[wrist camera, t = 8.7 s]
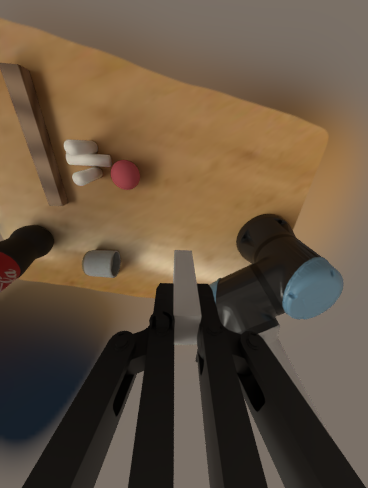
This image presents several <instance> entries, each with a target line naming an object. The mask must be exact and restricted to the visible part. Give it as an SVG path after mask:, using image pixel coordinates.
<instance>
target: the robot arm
mask: <svg viewBox="0 0 368 488" xmlns="http://www.w3.org/2000/svg"><path fill="white" fill-rule="evenodd" d="M236 243H237V248H238V250H239V252H240V254H241V255H242V257H243V258H244V259H246V260H247V261H249V262H250V263H252V264H251V265H249V266H247V267H245V268H243V269H241V270H238V271H236V272H234V273H232V274H230V275H228V276H226V277H223V278H219V279H218V280H217V281H215V282H213V283H211V284H210V285H208V284H197V282H196V276H195V269H194V263H193V256H192V251H187V250H175V252H174V272H173V283H160V284H159V286H158V287H157V289H156V297H155V304H154V312H153V314H152V315H151V317H150V320H149V322H150V325H149V326H148V328H146V329H145V330H143V331H141V332H137V333H134V334H132V333H131V332H129V331H121V332H118V333H117V334H115V335H114V336H112V338H111V339H110V340H109V342H108V343H107V345H106V347H105V348H104V350H103V352H102V353H101V355H100V357H99V358H98V360H97V362H96V363H95V365H94V367H93V369H92V370H91V372H90V374H89V376H88V377H87V379H86V380H85V382H84V384H83V385H82V387H81V389H80V390H79V392H78V394H77V396H76V397H75V399H74V401H73V402H72V404H71V406H70V407H69V409H68V411H67V412H66V414H65V416H64V418H63V419H62V421H61V423H60V424H59V426H58V428H57V429H56V431H55V433H54V434H53V436H52V438H51V439H50V441H49V443H48V444H47V446H46V448H45V450H44V451H43V453H42V455H41V457H40V458H39V460H38V462H37V463H36V465H35V467H34V468H33V470H32V471H31V473H30V475H29V477H28V478H27V480H26V482H25V483H24V485H23V487H22V488H94V485H95V483H96V480H97V477H98V475H99V472H100V470H101V467H102V464H103V462H104V459H105V456H106V454H107V451H108V448H109V446H110V443H111V440H112V438H113V435H114V433H115V430H116V428H117V425H118V422H119V419H120V417H121V414H122V412H123V409H124V407H125V404H126V401H127V399H128V396H129V393H130V391H131V388H132V385H133V383H134V380H135V378H136V375H137V373H139V372H142V371H144V376H143V383H142V391H141V398H140V405H139V412H138V419H137V427H136V433H135V441H134V449H133V455H132V463H131V470H130V477H129V484H128V488H173V475H174V458H173V457H174V345H196V343H197V346H198V350H197V355H196V362H198V369H199V381H200V391H201V400H202V410H203V421H204V431H205V441H206V452H207V462H208V472H209V482H210V488H268V487H267V483H266V479H265V475H264V472H263V468H262V464H261V461H260V457H259V453H258V450H257V446H256V442H255V438H254V434H253V431H252V427H251V423H250V419H249V416H248V412H247V408H246V404H245V401H246V403H247V405H248V407H249V409H250V412H251V414H252V416H253V418H254V420H255V423H256V425H257V427H258V429H259V431H260V434H261V435H262V438H263V440H264V442H265V445H266V447H267V449H268V451H269V453H270V456H271V458H272V460H273V462H274V464H275V467H276V469H277V471H278V473H279V475H280V478H281V480H282V482H283V484H284V486H285V488H366V487H365V486H364V484H363V483H362V481H361V480H360V478H359V477H358V475H357V474H356V473H355V471H354V470H353V468H352V467H351V465H350V464H349V462H348V461H347V460H346V458H345V457H344V455H343V454H342V452H341V451H340V449H339V448H338V447H337V445H336V444H335V442H334V441H333V439H332V437H331V435H330V434H329V432H328V430H327V428H326V426H325V424H324V422H323V421H322V419H321V417H320V415H319V413H318V411H317V410H316V408H315V406H314V404H313V402H312V400H311V398H310V397H309V395H308V393H307V391H306V389H305V387H304V385H303V384H302V382H301V380H300V378H299V377H298V374H297V373H296V371H295V369H294V367H293V365H292V363H291V361H290V360H289V358H288V356H287V354H286V352H285V350H284V348H283V347H282V345H281V343H280V341H279V339H278V332H279V329H280V325H279V323H278V321H277V320H276V318H275V316H277V315H280V314H283V313H286V314H288V315H289V316H291V317H292V318H295V319H309V318H312V317H315V316H317V315H320V314H321V313H323V312H324V311H326V310H327V309H328V308H330V307H331V306H332V305H333V304H334V303H335V302H336V300H337V299H338V298H339V296H340V295H341V292H342V290H343V278H342V276H341V274H340V273H339V272H338V271H337V270H336V269H335V268H334V267H333V266H332V265H331V264H330V263H329V262H328V261H327V260H326V259H325V258H323V257H321V256H320V255H318V254H317V253H316V252H314V251H313V250H312V249H310V248H309V247H307V246H306V245H305V244H303V243H302V242H301V241H300V240H298V239H297V238H296V237H295V235H294V233H293V231H292V228H291V226H290V225H289V224H288V222H287V221H285V220H284V219H282V218H281V217H279V216H277V215H273V214H264V215H260V216H257V217H255V218H253V219H251V220H250V221H248V222H247V223H246V224H245V225H244V226H243V227H242V228H241V230H240V232H239V234H238V236H237V241H236ZM243 396H244V397H243ZM244 399H245V401H244Z"/></svg>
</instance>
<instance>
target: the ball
mask: <svg viewBox="0 0 368 488" xmlns="http://www.w3.org/2000/svg"><path fill="white" fill-rule="evenodd" d="M111 178H112V180H113V182H114V183H115V184H116V185H117V186H118V187H119V188H121V189H125V190H130V189H133V188H134V187H136V186H137V185H138V183H139V180H140V173H139V170H138V168H137V167H136V166H135V164H133V163H132V162H130V161H127V160H120V161H117V162H116V163H115V164H114V165H113V166H112V168H111Z"/></svg>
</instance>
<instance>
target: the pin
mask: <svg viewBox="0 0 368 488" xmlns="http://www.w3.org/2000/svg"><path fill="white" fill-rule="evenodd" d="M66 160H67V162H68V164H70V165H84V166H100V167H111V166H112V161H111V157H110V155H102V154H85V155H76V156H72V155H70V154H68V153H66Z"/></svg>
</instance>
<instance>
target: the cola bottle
mask: <svg viewBox="0 0 368 488" xmlns="http://www.w3.org/2000/svg"><path fill="white" fill-rule="evenodd" d="M53 244H54V239H53V237H52V235H51V234H50V232H48V231H47V230H46V229H44V228H42V227H40V226H34V225H30V226H25V227H21V228H19V229H17V230H16V231H14V232H13V233H12V234H11V236H10V237H9V238H8V239H6V240H3V241H1V242H0V292H1V291H2V290H4V289H5V288H6V287H7V286H8V285H9V284H11V283H12V282H13V281H14V280H15V279H17V278H19V277H20V276H21V275H22V274H23V273H24V272H25V271H26V270H27V268H28V267H29V266H30V265H31V264H32V262H33V261H34V260H35V259H37V258H40V257H42V256H44V255H46V254H47V253H48V252H49V251H50V250H51V249H52V247H53Z"/></svg>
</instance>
